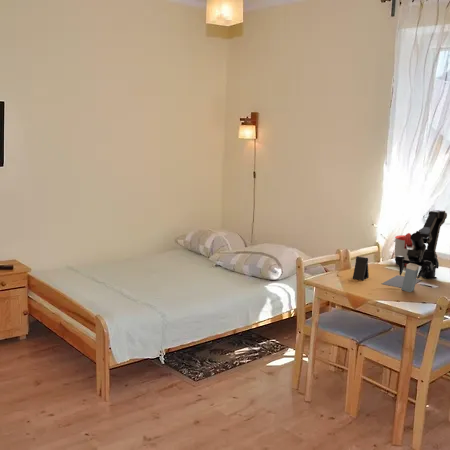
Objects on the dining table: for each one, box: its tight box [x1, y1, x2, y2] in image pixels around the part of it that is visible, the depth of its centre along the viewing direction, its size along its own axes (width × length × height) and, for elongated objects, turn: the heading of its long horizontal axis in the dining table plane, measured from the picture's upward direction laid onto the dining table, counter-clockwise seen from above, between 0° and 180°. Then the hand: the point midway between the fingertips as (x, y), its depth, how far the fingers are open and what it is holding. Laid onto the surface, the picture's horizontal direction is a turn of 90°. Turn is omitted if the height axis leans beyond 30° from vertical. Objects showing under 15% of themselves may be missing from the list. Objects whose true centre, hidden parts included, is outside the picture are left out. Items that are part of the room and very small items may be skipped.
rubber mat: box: [381, 274, 422, 289], centre depth 299 cm, size 22×14×1 cm, turn 141°
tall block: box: [401, 263, 420, 293], centre depth 282 cm, size 5×5×14 cm
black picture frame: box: [352, 256, 370, 281], centre depth 305 cm, size 9×6×12 cm, turn 145°
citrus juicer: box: [394, 232, 414, 267], centre depth 334 cm, size 16×17×20 cm
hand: (408, 276), depth 283 cm, fingers open, 9 cm apart
